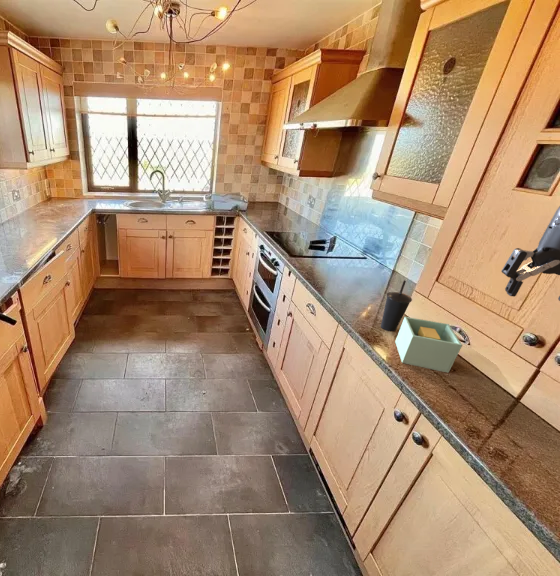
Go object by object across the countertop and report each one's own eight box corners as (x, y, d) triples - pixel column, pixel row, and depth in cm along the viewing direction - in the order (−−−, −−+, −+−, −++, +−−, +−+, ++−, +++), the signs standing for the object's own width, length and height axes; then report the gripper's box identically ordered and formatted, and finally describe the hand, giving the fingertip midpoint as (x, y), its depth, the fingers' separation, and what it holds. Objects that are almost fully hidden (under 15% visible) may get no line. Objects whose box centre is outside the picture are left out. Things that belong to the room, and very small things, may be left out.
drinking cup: (377, 331, 115) (393, 283, 106) (375, 320, 121) (390, 274, 112) (401, 335, 112) (420, 287, 103) (398, 325, 118) (415, 278, 110)
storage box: (436, 350, 105) (448, 324, 100) (448, 373, 95) (462, 345, 90) (395, 341, 109) (404, 316, 105) (401, 362, 99) (412, 335, 95)
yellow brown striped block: (425, 351, 104) (435, 328, 100) (430, 362, 99) (441, 339, 94) (411, 348, 105) (420, 326, 101) (415, 359, 100) (425, 336, 96)
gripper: (616, 224, 60) (569, 296, 68) (520, 218, 65) (486, 285, 73) (648, 234, 54) (593, 313, 61) (540, 226, 59) (501, 300, 67)
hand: (535, 298), depth 67 cm, fingers open, 8 cm apart
